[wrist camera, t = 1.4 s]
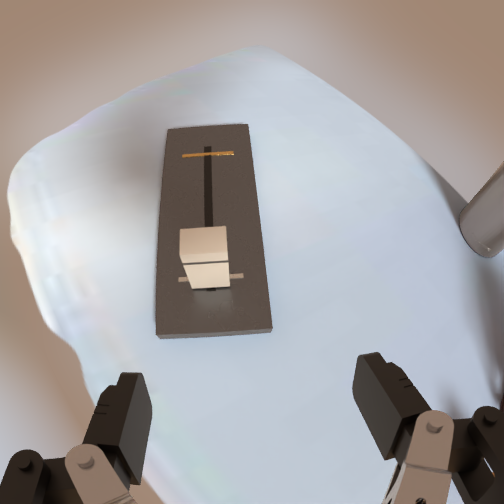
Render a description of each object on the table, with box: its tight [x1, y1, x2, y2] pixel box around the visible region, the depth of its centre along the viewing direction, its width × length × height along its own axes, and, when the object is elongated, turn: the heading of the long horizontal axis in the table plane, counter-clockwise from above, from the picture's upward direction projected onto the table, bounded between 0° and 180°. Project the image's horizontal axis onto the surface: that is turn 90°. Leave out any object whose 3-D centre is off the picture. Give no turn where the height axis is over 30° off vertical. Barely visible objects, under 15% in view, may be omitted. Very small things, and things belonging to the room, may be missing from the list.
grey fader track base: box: [156, 124, 273, 339], centre depth 40 cm, size 30×12×2 cm, turn 5°
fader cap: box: [180, 226, 230, 289], centre depth 31 cm, size 3×4×8 cm, turn 95°
